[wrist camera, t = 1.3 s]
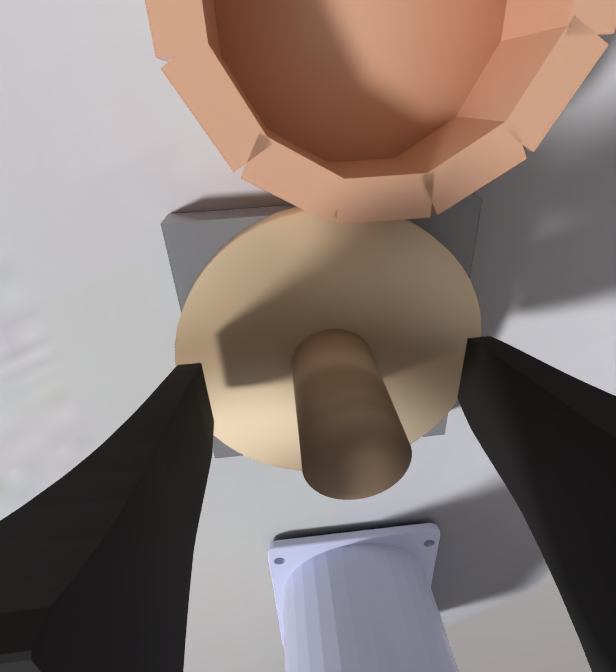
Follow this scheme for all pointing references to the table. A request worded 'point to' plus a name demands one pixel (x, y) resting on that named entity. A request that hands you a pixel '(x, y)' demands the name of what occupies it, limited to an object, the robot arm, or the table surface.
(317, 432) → the lid
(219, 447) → the coaster
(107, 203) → the table surface
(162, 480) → the robot arm
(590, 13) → the bowl
